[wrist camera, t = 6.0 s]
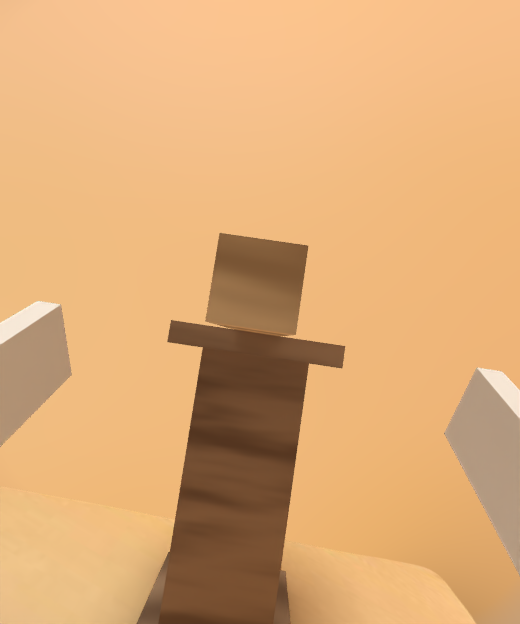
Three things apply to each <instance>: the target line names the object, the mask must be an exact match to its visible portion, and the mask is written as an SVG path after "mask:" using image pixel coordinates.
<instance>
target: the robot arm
mask: <svg viewBox="0 0 520 624" xmlns="http://www.w3.org/2000/svg"><path fill="white" fill-rule="evenodd" d="M70 376H71V367H70V361H69V354H68V348H67V341H66V335H65V328H64V321H63V315H62V308H61V305H60V304H54V303H47V302H41V301H37V302H35V303H33V304H32V305H30V306H28V307H27V308H25V309H23V310H21V311H20V312H18V313H16V314H15V315H13V316H11V317H10V318H8V319H6V320H4V321H3V322H1V323H0V447H1V446H2V445H3V443H5V441H6V440H8V438H10V436H11V435H12V434H14V432H15V431H16V430H17V429H18V428H19V427H20V426H21V425H22V424H23V423H24V422H25V421H26V420H27V419H28V418H29V417H30V416H31V415H32V414H33V413H34V412H35V411H36V410H37V409H38V408H39V407H40V406H41V405H42V404H43V403H44V402H45V401H46V400H47V399H48V398H49V397H50V396H51V395H52V394H53V393H54V392H55V391H56V390H57V389H58V388H59V387H60V386H61V385H62V384H63V383H64V382H65V381H66V380H67V379H68V378H69V377H70ZM444 434H445V436H446V438H447V439H448V441H449V443H450V445H451V447H452V449H453V451H454V453H455V455H456V456H457V458H458V460H459V462H460V464H461V466H462V468H463V469H464V471H465V473H466V475H467V477H468V479H469V481H470V483H471V485H472V487H473V488H474V490H475V492H476V494H477V496H478V498H479V500H480V502H481V503H482V505H483V507H484V509H485V511H486V513H487V515H488V517H489V518H490V521H491V522H492V524H493V526H494V528H495V530H496V532H497V533H498V535H499V537H500V539H501V541H502V543H503V545H504V547H505V548H506V551H507V553H508V554H509V556H510V558H511V560H512V562H513V564H514V566H515V568H516V570H517V571H518V573H519V575H520V390H519V389H518V388H517V387H516V386H515V385H514V384H513V383H512V382H511V381H510V380H509V379H508V377H507V376H506V375H505V374H504V373H503V372H501V371H495V370H489V369H482V368H476V370H475V372H474V374H473V376H472V378H471V380H470V382H469V385H468V386H467V388H466V391H465V393H464V395H463V397H462V399H461V401H460V403H459V405H458V407H457V409H456V411H455V413H454V415H453V417H452V419H451V421H450V423H449V425H448V427H447V429H446V431H445V433H444Z"/></svg>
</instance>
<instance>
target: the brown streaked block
mask: <svg viewBox="0 0 520 624" xmlns="http://www.w3.org/2000/svg"><path fill="white" fill-rule="evenodd" d="M307 251H308V246H307V245H300V244H292V243H285V242H279V241H272V240H265V239H258V238H251V237H243V236H236V235H230V234H222V233H220V234H219V240H218V247H217V252H216V260H215V265H214V271H213V277H212V283H211V290H210V296H209V303H208V308H207V314H206V322H209V323H213V324H217V325H220V326H224V327H227V328H231V329H234V330H240V331H246V332H253V333H260V334H266V335H273V336H288V335H295V334H296V329H297V321H298V315H299V307H300V301H301V294H302V287H303V279H304V273H305V266H306V258H307Z"/></svg>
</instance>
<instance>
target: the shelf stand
mask: <svg viewBox="0 0 520 624" xmlns="http://www.w3.org/2000/svg"><path fill="white" fill-rule="evenodd" d="M168 342H172V343H178V344H185V345H191V346H198V347H203V350H202V356H201V362H200V369H199V375H198V381H197V387H196V393H195V400H194V406H193V413H192V418H191V425H190V431H189V437H188V443H187V449H186V456H185V462H184V468H183V474H182V480H181V487H180V493H179V499H178V505H177V511H176V518H175V524H174V530H173V536H172V542H171V549H170V552H168V555H167V557H166V559H165V561H164V564H163V566H162V568H161V570H160V573H159V575H158V577H157V579H156V582H155V584H154V586H153V588H152V591H151V593H150V595H149V597H148V600H147V602H146V604H145V606H144V609H143V611H142V613H141V615H140V617H139V620H138V622H137V624H290V615H289V604H288V593H287V582H286V571H281V562H282V555H283V548H284V540H285V533H286V526H287V519H288V511H289V504H290V497H291V489H292V482H293V475H294V467H295V460H296V453H297V445H298V438H299V431H300V424H301V417H302V409H303V402H304V394H305V387H306V380H307V373H308V365H309V363H310V364H318V365H323V366H330V367H337V368H342V366H343V359H344V351H345V346H340V345H333V344H327V343H320V342H313V341H307V340H299V339H293V338H286V337H280V336H273V335H266V334H260V333H253V332H246V331H240V330H233V329H226V328H220V327H213V326H205V325H199V324H192V323H186V322H179V321H173V320H171V324H170V330H169V336H168Z"/></svg>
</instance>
